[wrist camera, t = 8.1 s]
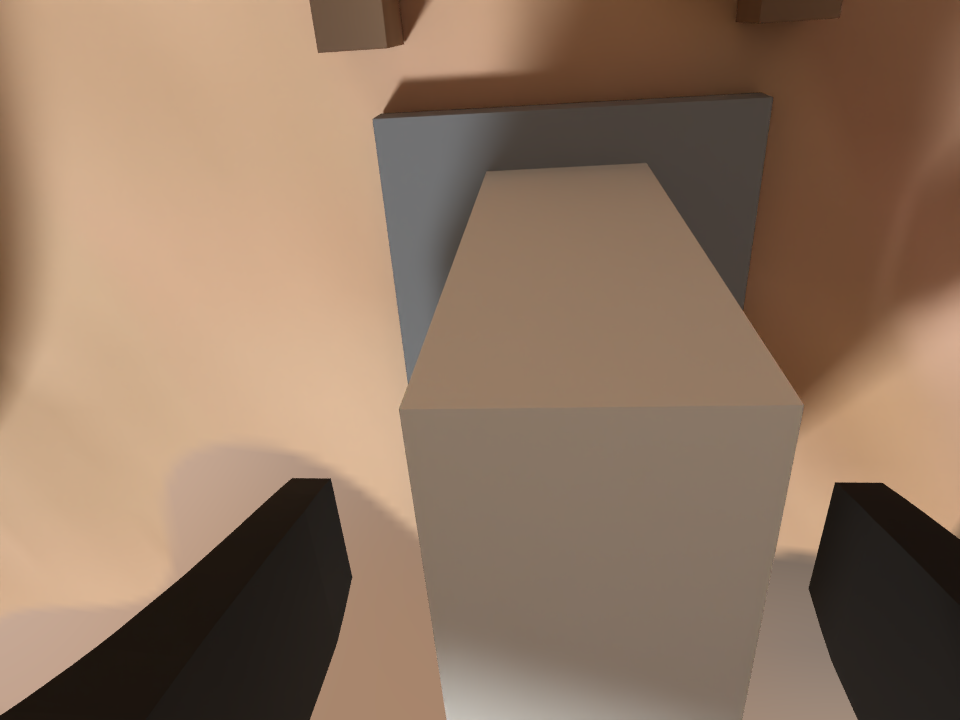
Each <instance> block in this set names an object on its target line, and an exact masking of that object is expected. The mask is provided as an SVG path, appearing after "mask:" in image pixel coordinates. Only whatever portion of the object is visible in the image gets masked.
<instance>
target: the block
mask: <svg viewBox="0 0 960 720" xmlns="http://www.w3.org/2000/svg"><path fill="white" fill-rule="evenodd" d="M803 409H804V404H803V402H802V401H801V399H800V398H799V396H798V395H797V393H796V392H795V390H794V389H793V387H792V386H791V384H790V382H789V381H788V379H787V378H786V376H785V375H784V373H783V372H782V370H781V369H780V367H779V366H778V364H777V363H776V361H775V359H774V358H773V356H772V355H771V353H770V352H769V350H768V349H767V347H766V346H765V344H764V343H763V341H762V339H761V338H760V336H759V335H758V333H757V332H756V330H755V329H754V327H753V326H752V324H751V323H750V321H749V320H748V318H747V316H746V315H745V313H744V312H743V310H742V309H741V307H740V306H739V304H738V303H737V301H736V300H735V298H734V296H733V295H732V293H731V292H730V290H729V289H728V287H727V286H726V284H725V283H724V281H723V280H722V278H721V277H720V275H719V273H718V272H717V270H716V269H715V267H714V266H713V264H712V263H711V261H710V260H709V258H708V257H707V255H706V254H705V252H704V250H703V249H702V247H701V246H700V244H699V243H698V241H697V240H696V238H695V237H694V235H693V234H692V232H691V230H690V229H689V227H688V226H687V224H686V223H685V221H684V220H683V218H682V217H681V215H680V214H679V212H678V211H677V209H676V207H675V206H674V204H673V203H672V201H671V200H670V198H669V197H668V195H667V194H666V192H665V191H664V189H663V188H662V186H661V184H660V183H659V181H658V180H657V178H656V177H655V175H654V174H653V172H652V171H651V169H650V168H649V166H648V164H647V163H637V164H618V165H598V166H579V167H560V168H541V169H522V170H503V171H486V174H485V177H484V179H483V182H482V185H481V188H480V190H479V193H478V196H477V199H476V201H475V204H474V207H473V209H472V212H471V215H470V218H469V220H468V223H467V226H466V228H465V231H464V234H463V237H462V239H461V242H460V245H459V248H458V250H457V253H456V256H455V258H454V261H453V264H452V267H451V269H450V272H449V275H448V277H447V280H446V283H445V286H444V288H443V291H442V294H441V297H440V299H439V302H438V305H437V307H436V310H435V313H434V316H433V318H432V321H431V324H430V326H429V329H428V332H427V335H426V337H425V340H424V343H423V346H422V348H421V351H420V354H419V356H418V359H417V362H416V365H415V367H414V370H413V373H412V375H411V378H410V381H409V384H408V386H407V389H406V392H405V395H404V397H403V400H402V403H401V405H400V408H399V413H400V419H401V426H402V432H403V439H404V445H405V452H406V458H407V465H408V471H409V478H410V484H411V491H412V497H413V504H414V510H415V517H416V523H417V530H418V536H419V543H420V549H421V556H422V562H423V569H424V575H425V582H426V588H427V595H428V601H429V608H430V614H431V621H432V627H433V634H434V641H435V647H436V653H437V660H438V667H439V673H440V679H441V685H442V693H443V699H444V706H445V712H446V719H447V720H742V718H743V713H744V707H745V703H746V698H747V693H748V688H749V683H750V678H751V673H752V668H753V662H754V657H755V652H756V647H757V642H758V637H759V631H760V627H761V621H762V617H763V612H764V606H765V602H766V596H767V591H768V586H769V581H770V576H771V571H772V566H773V561H774V556H775V551H776V546H777V541H778V536H779V531H780V526H781V520H782V515H783V510H784V505H785V500H786V495H787V490H788V485H789V480H790V475H791V470H792V465H793V460H794V455H795V449H796V444H797V439H798V434H799V429H800V424H801V419H802V414H803Z"/></svg>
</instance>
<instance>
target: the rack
mask: <svg viewBox="0 0 960 720" xmlns="http://www.w3.org/2000/svg"><path fill="white" fill-rule="evenodd" d="M310 6H311V13H312V19H313V25H314V31H315V37H316V43H317V49H318V53H323V52H338V51H353V50H368V49H383V48H390V47H394V46H398V45H402V44H404V42H403V32H402V23H401V14H400V4H399V0H310ZM841 6H842V0H738V6H737V15H736V22H746V23H773V22H788V21H803V20H818V19H833V18H839V17H840V12H841Z"/></svg>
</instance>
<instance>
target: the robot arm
mask: <svg viewBox="0 0 960 720" xmlns="http://www.w3.org/2000/svg"><path fill="white" fill-rule="evenodd" d="M351 580H352V574H351V570H350V565H349V561H348V556H347V552H346V546H345V543H344V538H343V533H342V528H341V523H340V519H339V515H338V510H337V505H336V501H335V496H334V491H333V487H332V482H331V479H315V478H309V479H306V478H292V479H291V480H290V481H288V482H287V483H286V484H285V485H284V486H283V487H281V488H280V489H279V490H278V491H277V492H276V493H275V494H274V495H273V496H271V497H270V498H269V499H268V500H267V501H266V502H265V503H264V504H263V505H261V506H260V507H259V508H258V509H257V510H256V511H255V512H254V513H253V514H252V515H251V516H250V517H249V518H247V519H246V520H245V521H244V522H243V523H242V524H241V525H240V526H239V527H238V528H236V529H235V530H234V531H233V532H232V533H231V534H230V535H229V536H228V537H227V538H225V539H224V540H223V541H222V542H221V543H220V544H219V545H218V546H217V547H215V548H214V549H213V550H212V551H211V552H210V553H209V554H208V555H206V556H205V557H204V558H203V559H202V560H201V561H200V562H199V563H197V564H196V565H195V566H194V567H193V568H192V569H191V570H190V571H188V572H187V573H186V574H185V575H184V576H183V577H182V578H180V579H179V580H178V581H177V582H176V583H174V584H173V585H172V586H171V587H170V588H168V589H167V590H166V591H165V592H164V593H162V594H161V595H160V596H159V597H157V598H156V599H155V600H154V601H153V602H151V603H150V604H149V605H148V606H147V607H145V608H144V609H143V610H142V611H140V612H139V613H138V614H137V615H136V616H134V617H133V618H132V619H131V620H130V621H128V622H127V623H126V624H125V625H123V626H122V627H121V628H120V629H119V630H117V631H116V632H115V633H114V634H112V635H111V636H110V637H109V638H107V639H106V640H105V641H103V642H102V643H101V644H100V645H98V646H97V647H96V648H94V649H93V650H92V651H90V652H89V653H88V654H86V655H85V656H84V657H82V658H81V659H80V660H78V661H77V662H76V663H74V664H73V665H72V666H70V667H69V668H67V669H66V670H65V671H63V672H62V673H61V674H59V675H58V676H56V677H55V678H54V679H52V680H51V681H49V682H48V683H47V684H45V685H44V686H43V687H41V688H40V689H38V690H37V691H35V692H34V693H33V694H31V695H30V696H28V697H27V698H25V699H24V700H23V701H21V702H20V703H18V704H17V705H15V706H14V707H12V708H11V709H9V710H8V711H7V712H5V713H3V714H2V715H0V720H310V717H311V715H312V712H313V709H314V706H315V703H316V701H317V698H318V695H319V693H320V690H321V687H322V684H323V681H324V679H325V676H326V673H327V670H328V667H329V664H330V662H331V659H332V656H333V653H334V650H335V647H336V644H337V641H338V637H339V633H340V628H341V625H342V621H343V616H344V612H345V607H346V603H347V598H348V594H349V589H350V585H351ZM809 591H810V594H811V598H812V601H813V604H814V608H815V611H816V614H817V618H818V621H819V624H820V628H821V631H822V634H823V637H824V640H825V643H826V646H827V648H828V652H829V655H830V658H831V661H832V663H833V665H834V667H835V670H836V672H837V674H838V677H839V679H840V681H841V683H842V685H843V688H844V690H845V692H846V694H847V696H848V699H849V701H850V703H851V705H852V707H853V710H854V712H855V714H856V717H857V719H858V720H960V539H958V538H957V537H956V536H954V535H953V534H952V533H950V532H949V531H948V530H946V529H945V528H944V527H942V526H941V525H940V524H938V523H937V522H936V521H934V520H933V519H932V518H930V517H929V516H928V515H926V514H925V513H924V512H922V511H921V510H920V509H918V508H917V507H916V506H914V505H913V504H911V503H910V502H909V501H907V500H906V499H905V498H903V497H902V496H900V495H899V494H898V493H896V492H895V491H893V490H892V489H890V488H889V487H887V486H886V485H885V484H883V483H835V485H834V489H833V493H832V497H831V501H830V505H829V509H828V513H827V517H826V521H825V525H824V529H823V533H822V537H821V541H820V545H819V549H818V553H817V557H816V561H815V565H814V569H813V573H812V577H811V581H810V586H809Z"/></svg>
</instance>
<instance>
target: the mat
mask: <svg viewBox="0 0 960 720" xmlns="http://www.w3.org/2000/svg"><path fill="white" fill-rule="evenodd" d="M772 103H773V97H771V96H769V95H766V94H763V93H746V94H728V95H710V96H692V97H674V98H656V99H638V100H620V101H602V102H584V103H565V104H547V105H529V106H511V107H493V108H475V109H457V110H439V111H421V112H403V113H385V114H380V115H378V116H377V117H375V118H374V119H373V126H374V134H375V141H376V149H377V156H378V164H379V171H380V179H381V186H382V193H383V201H384V208H385V216H386V223H387V231H388V238H389V246H390V253H391V261H392V268H393V276H394V283H395V290H396V298H397V305H398V313H399V320H400V328H401V335H402V343H403V350H404V358H405V365H406V372H407V380H408V384H409V381H410V378H411V375H412V373H413V370H414V367H415V365H416V362H417V359H418V356H419V354H420V351H421V348H422V346H423V343H424V340H425V337H426V335H427V332H428V329H429V326H430V324H431V321H432V318H433V316H434V313H435V310H436V307H437V305H438V302H439V299H440V297H441V294H442V291H443V288H444V286H445V283H446V280H447V277H448V275H449V272H450V269H451V267H452V264H453V261H454V258H455V256H456V253H457V250H458V248H459V245H460V242H461V239H462V237H463V234H464V231H465V228H466V226H467V223H468V220H469V218H470V215H471V212H472V209H473V207H474V204H475V201H476V199H477V196H478V193H479V190H480V188H481V185H482V182H483V179H484V177H485V174H486V171H503V170H522V169H541V168H560V167H579V166H598V165H618V164H637V163H647V164H648V166H649V168H650V169H651V171H652V172H653V174H654V175H655V177H656V178H657V180H658V181H659V183H660V184H661V186H662V188H663V189H664V191H665V192H666V194H667V195H668V197H669V198H670V200H671V201H672V203H673V204H674V206H675V207H676V209H677V211H678V212H679V214H680V215H681V217H682V218H683V220H684V221H685V223H686V224H687V226H688V227H689V229H690V230H691V232H692V234H693V235H694V237H695V238H696V240H697V241H698V243H699V244H700V246H701V247H702V249H703V250H704V252H705V254H706V255H707V257H708V258H709V260H710V261H711V263H712V264H713V266H714V267H715V269H716V270H717V272H718V273H719V275H720V277H721V278H722V280H723V281H724V283H725V284H726V286H727V287H728V289H729V290H730V292H731V293H732V295H733V296H734V298H735V300H736V301H737V303H738V304H739V306H740V307H741V309H742V310H743V307H744V300H745V293H746V286H747V279H748V272H749V265H750V258H751V251H752V244H753V237H754V230H755V223H756V216H757V209H758V201H759V194H760V187H761V180H762V173H763V166H764V159H765V152H766V145H767V138H768V131H769V124H770V117H771V110H772Z"/></svg>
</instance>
